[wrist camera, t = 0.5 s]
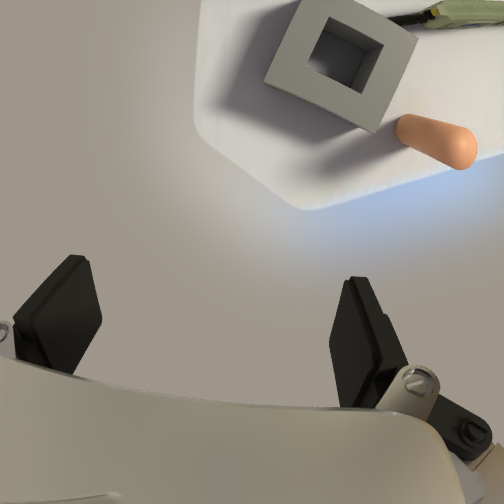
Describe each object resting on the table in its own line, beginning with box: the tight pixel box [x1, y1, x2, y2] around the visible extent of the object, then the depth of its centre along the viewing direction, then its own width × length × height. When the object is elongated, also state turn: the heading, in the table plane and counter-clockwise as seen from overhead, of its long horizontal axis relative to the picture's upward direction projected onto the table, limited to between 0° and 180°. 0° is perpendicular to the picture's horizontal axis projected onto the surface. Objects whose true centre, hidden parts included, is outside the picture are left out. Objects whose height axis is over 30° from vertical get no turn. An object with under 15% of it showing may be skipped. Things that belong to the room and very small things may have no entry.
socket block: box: [263, 0, 419, 134], centre depth 28 cm, size 12×12×6 cm
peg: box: [395, 114, 477, 170], centre depth 28 cm, size 4×4×12 cm
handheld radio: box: [387, 0, 504, 29], centre depth 23 cm, size 7×3×25 cm
